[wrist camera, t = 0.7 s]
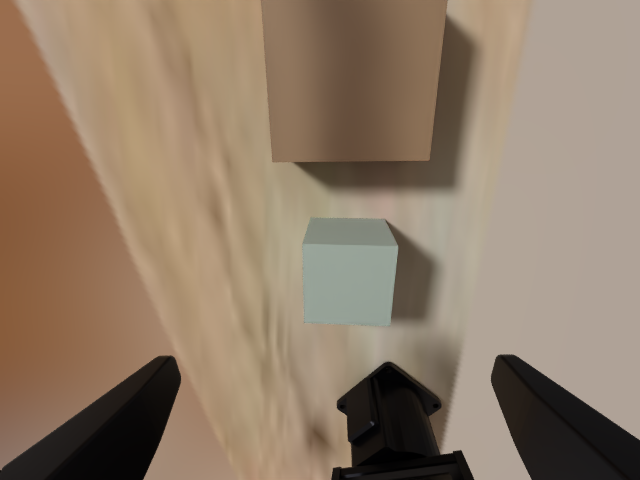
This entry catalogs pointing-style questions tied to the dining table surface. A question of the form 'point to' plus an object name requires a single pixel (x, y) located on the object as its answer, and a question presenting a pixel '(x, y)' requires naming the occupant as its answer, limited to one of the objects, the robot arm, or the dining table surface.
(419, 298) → the dining table surface
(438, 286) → the dining table surface
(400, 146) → the tan square slab
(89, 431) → the robot arm
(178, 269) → the dining table surface
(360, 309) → the sage cube
